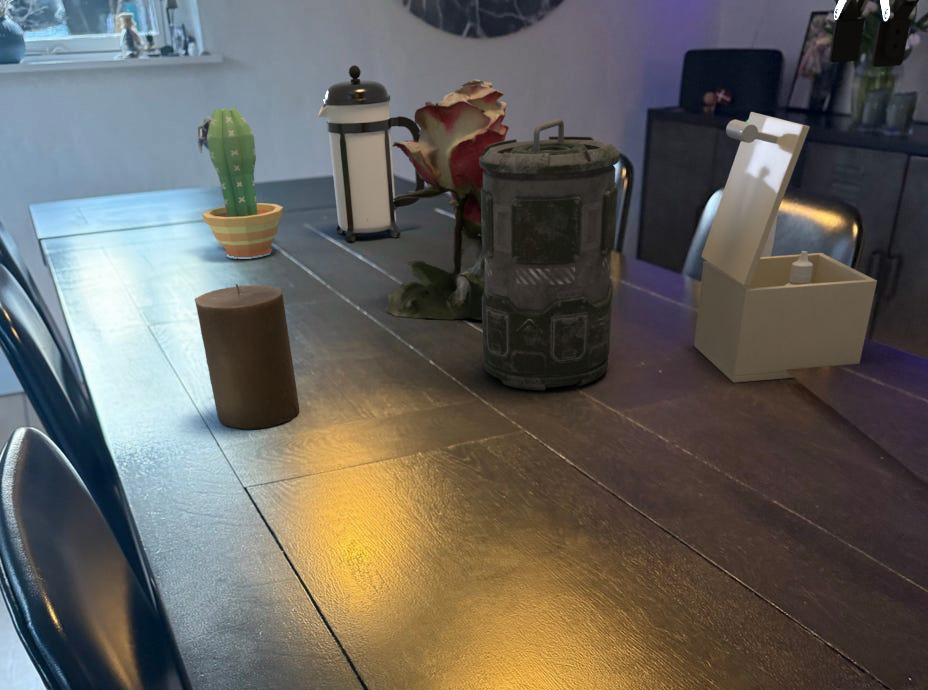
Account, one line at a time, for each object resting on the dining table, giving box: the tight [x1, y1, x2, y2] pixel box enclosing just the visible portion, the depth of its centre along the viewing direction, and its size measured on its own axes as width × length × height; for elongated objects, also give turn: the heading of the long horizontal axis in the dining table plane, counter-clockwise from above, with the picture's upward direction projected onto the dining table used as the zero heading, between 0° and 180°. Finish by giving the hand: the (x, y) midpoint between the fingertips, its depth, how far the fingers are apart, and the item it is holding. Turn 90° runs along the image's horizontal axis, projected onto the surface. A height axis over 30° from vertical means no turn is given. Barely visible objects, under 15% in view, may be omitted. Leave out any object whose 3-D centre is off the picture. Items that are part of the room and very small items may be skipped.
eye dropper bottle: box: [785, 250, 813, 286], centre depth 115 cm, size 4×6×12 cm
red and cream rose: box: [367, 79, 510, 321], centre depth 139 cm, size 26×29×30 cm
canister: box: [479, 118, 621, 392], centre depth 110 cm, size 16×16×28 cm
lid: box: [700, 111, 811, 287], centre depth 107 cm, size 16×15×5 cm
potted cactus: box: [195, 107, 284, 257], centre depth 175 cm, size 15×15×25 cm
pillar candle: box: [194, 283, 300, 430], centre depth 106 cm, size 10×10×15 cm
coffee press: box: [317, 64, 426, 243], centre depth 184 cm, size 17×16×30 cm
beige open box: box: [693, 252, 878, 383], centre depth 115 cm, size 16×15×11 cm
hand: (863, 63), depth 100 cm, fingers open, 9 cm apart
